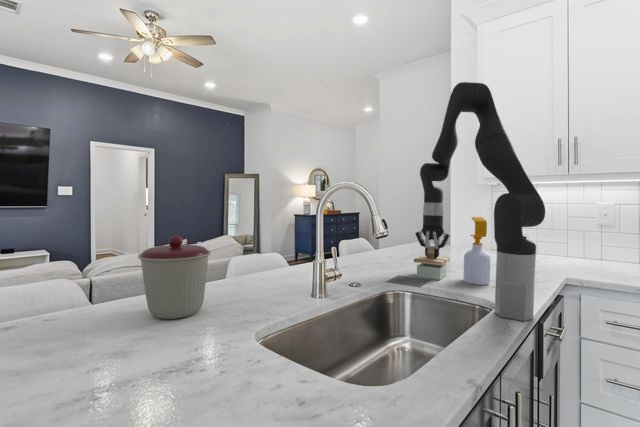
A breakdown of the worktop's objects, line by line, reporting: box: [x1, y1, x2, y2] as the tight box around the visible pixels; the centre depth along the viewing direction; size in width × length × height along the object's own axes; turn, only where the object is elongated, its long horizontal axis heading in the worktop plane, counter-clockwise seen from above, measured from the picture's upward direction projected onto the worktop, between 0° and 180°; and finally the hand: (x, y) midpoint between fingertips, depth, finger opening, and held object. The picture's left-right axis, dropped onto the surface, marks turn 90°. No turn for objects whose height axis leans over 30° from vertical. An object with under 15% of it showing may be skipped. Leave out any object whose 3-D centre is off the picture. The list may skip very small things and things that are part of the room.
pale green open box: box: [416, 263, 447, 281], centre depth 136 cm, size 9×9×5 cm
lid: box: [413, 245, 451, 265], centre depth 136 cm, size 11×11×6 cm
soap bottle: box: [462, 216, 491, 286], centre depth 129 cm, size 9×9×25 cm
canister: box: [137, 235, 212, 320], centre depth 93 cm, size 18×18×21 cm
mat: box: [385, 275, 431, 288], centre depth 129 cm, size 13×13×1 cm
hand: (432, 257), depth 136 cm, fingers closed on lid, 2 cm apart
